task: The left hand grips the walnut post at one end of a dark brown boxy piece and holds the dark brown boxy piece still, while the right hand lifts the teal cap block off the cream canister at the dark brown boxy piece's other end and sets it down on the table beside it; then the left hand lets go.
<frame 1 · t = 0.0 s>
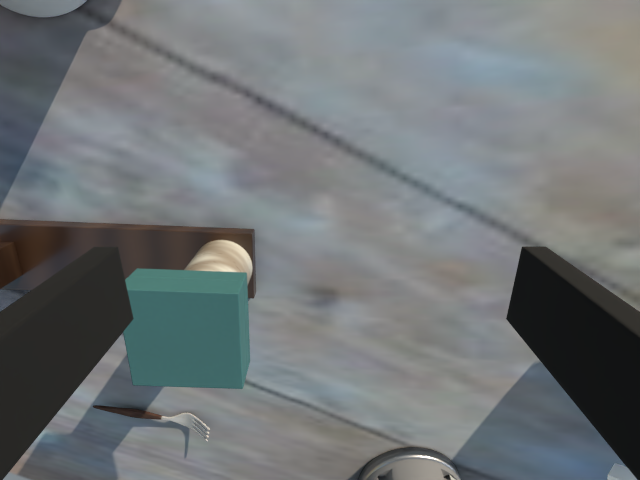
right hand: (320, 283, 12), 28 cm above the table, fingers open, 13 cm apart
cap block: (196, 316, 32), point 11 cm above the table, touching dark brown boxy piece
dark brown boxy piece: (121, 256, 43), on the table, touching cap block
fork: (155, 412, 52), on the table
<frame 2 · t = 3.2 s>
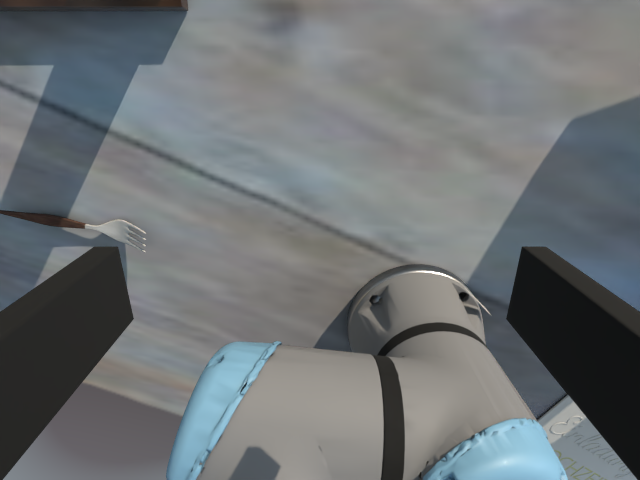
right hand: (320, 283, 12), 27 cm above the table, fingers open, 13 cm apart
invitation card: (579, 459, 53), on the table
fork: (78, 222, 40), on the table
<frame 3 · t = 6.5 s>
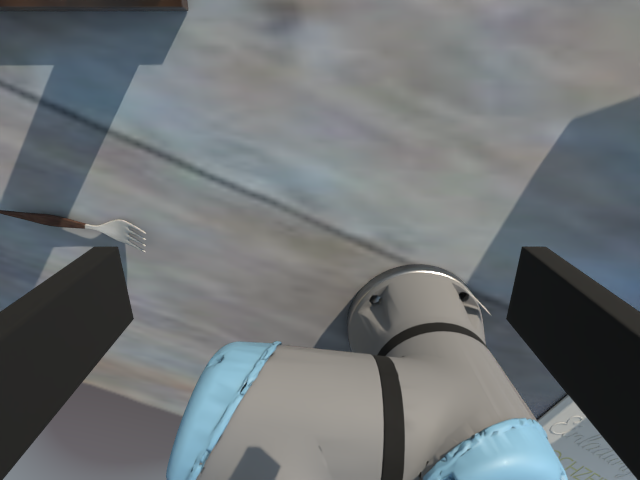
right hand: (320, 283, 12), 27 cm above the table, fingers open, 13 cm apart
invitation card: (579, 459, 53), on the table
fork: (78, 222, 40), on the table
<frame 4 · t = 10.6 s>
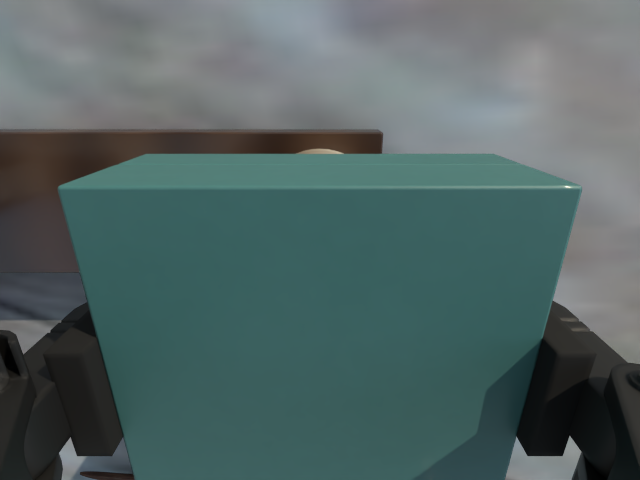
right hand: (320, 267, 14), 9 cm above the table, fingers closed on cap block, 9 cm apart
cap block: (319, 305, 11), point 12 cm above the table, touching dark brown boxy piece, right hand
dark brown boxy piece: (114, 200, 22), on the table, touching cap block, left hand
fork: (185, 477, 31), on the table
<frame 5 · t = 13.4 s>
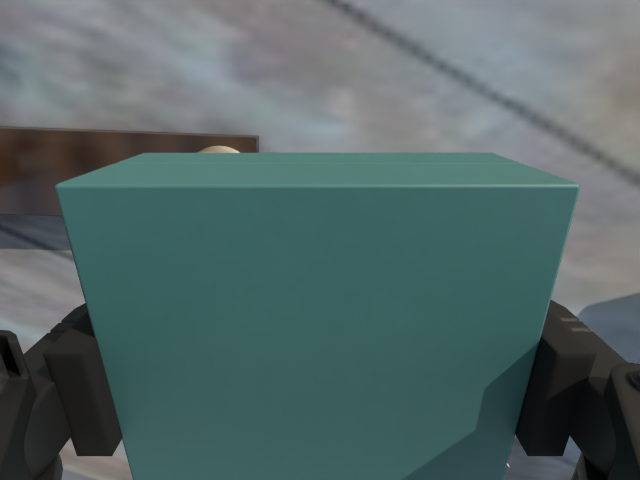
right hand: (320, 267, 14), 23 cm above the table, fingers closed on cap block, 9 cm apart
cap block: (318, 304, 11), point 26 cm above the table, touching right hand
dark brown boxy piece: (99, 172, 36), on the table, touching left hand
when the right hand's fingers open (2 cm above the table, at t = 18.3 s): cap block drops 5 cm, on the table.
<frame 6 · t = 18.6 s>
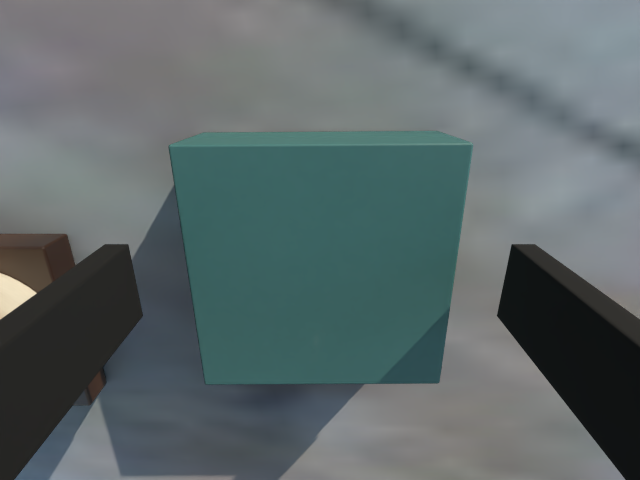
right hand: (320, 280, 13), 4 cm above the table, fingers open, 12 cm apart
cap block: (321, 241, 16), on the table
when the left hand's fingers open (5 cm above the table, at t = 20.4 s): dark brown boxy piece stays where it is, on the table.
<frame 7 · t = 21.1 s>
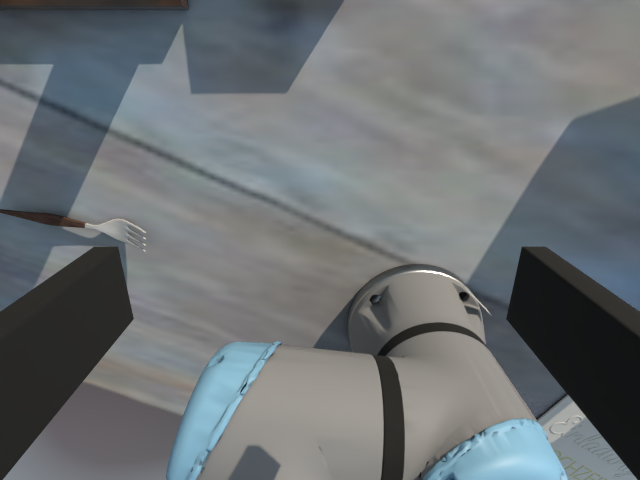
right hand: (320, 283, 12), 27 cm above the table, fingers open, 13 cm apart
invitation card: (578, 458, 53), on the table
fork: (78, 221, 40), on the table
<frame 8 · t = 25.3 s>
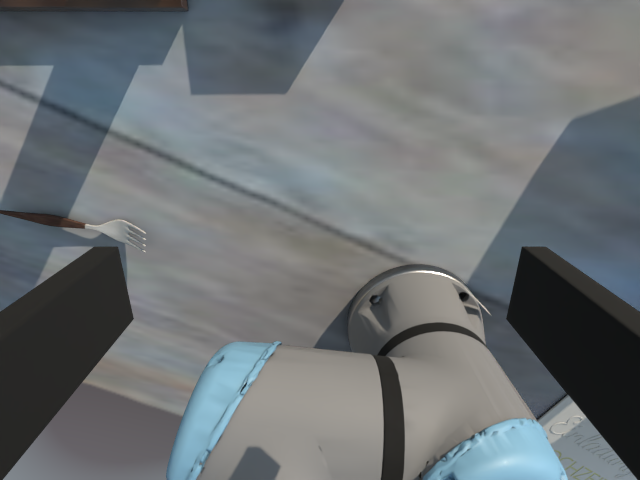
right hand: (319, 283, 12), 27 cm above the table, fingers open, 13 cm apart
invitation card: (579, 459, 53), on the table
fork: (78, 222, 40), on the table
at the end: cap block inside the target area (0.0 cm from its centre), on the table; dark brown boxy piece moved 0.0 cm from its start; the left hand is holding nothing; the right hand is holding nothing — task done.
